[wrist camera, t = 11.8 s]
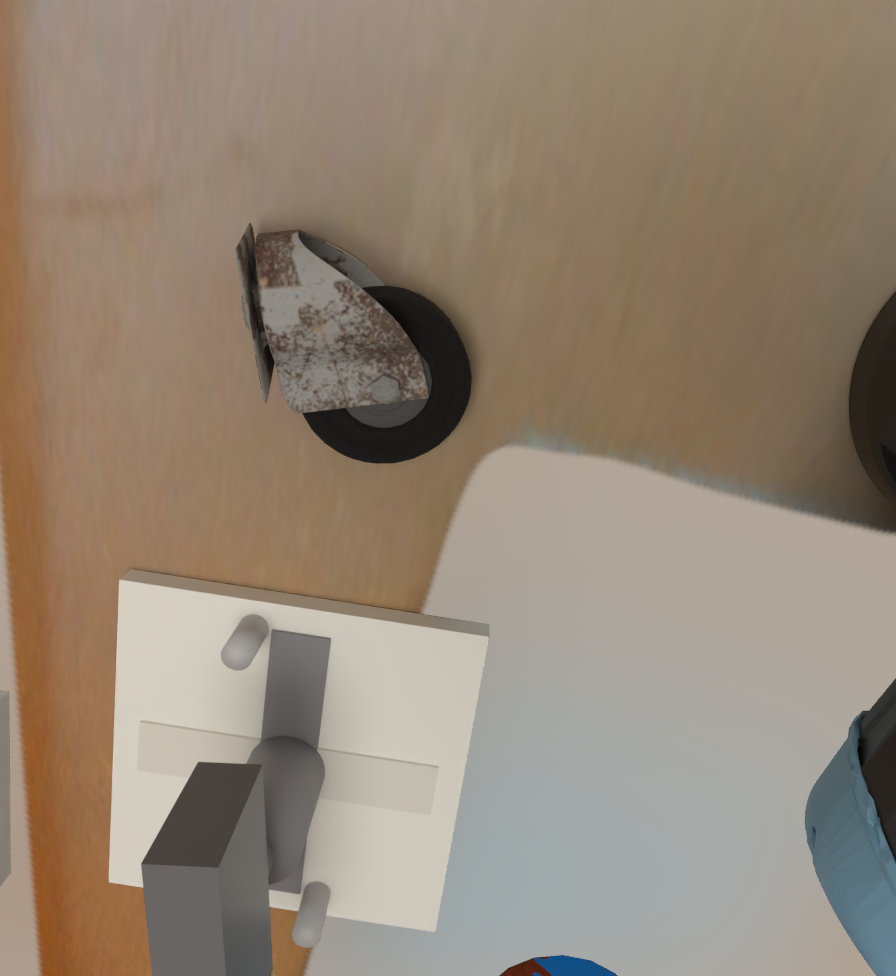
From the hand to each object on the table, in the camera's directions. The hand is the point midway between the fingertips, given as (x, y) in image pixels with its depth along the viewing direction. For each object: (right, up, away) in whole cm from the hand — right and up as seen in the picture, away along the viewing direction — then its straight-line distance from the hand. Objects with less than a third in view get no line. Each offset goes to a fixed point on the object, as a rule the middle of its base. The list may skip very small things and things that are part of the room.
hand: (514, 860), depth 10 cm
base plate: (-10, -11, +37) cm, 39 cm away
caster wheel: (-5, +12, +30) cm, 33 cm away
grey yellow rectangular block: (-10, -13, +28) cm, 33 cm away
